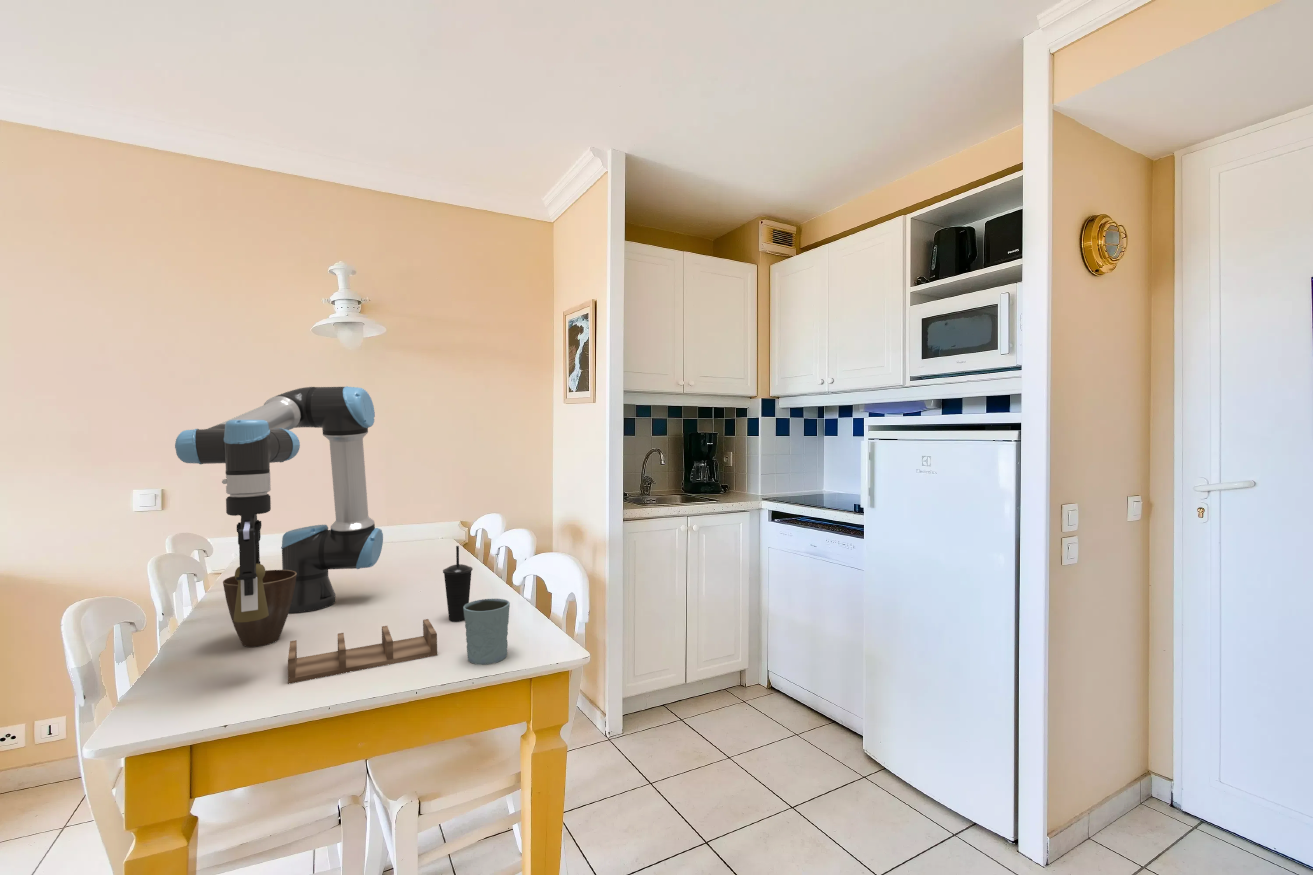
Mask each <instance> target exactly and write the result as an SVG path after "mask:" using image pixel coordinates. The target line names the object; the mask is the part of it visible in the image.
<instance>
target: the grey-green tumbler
mask: <svg viewBox="0 0 1313 875" xmlns="http://www.w3.org/2000/svg"><path fill="white" fill-rule="evenodd" d="M510 604H511V602H510V601H509V600H507V599H503V598H483V599H477V600H473V601H469V603H467V604H466V605H464V607H463V609H464V618H465V620H464V623H465V624H464V627H465V637H466V639H465V640H466V641H465V642H466V654H467V661H468V662H469V663H471V664H474V665H480V666H481V665H482V666H484V665H491V664H496V663H499V662H502V661H503V660H505V659H506V658H507V655H508V647H509V646H508V642H509V641H508V635H509V633H508V631H509V628H508V626H509V619H510Z"/></svg>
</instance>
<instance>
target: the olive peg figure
mask: <svg viewBox="0 0 1313 875" xmlns="http://www.w3.org/2000/svg"><path fill="white" fill-rule="evenodd" d="M265 571H266V568H265V566H264V564H261V563H260V564H256V574H257V576H256V577H257V588H258V610H252V611H245V612H241V580H237V581H238V589H237V597H236V604H235V612H234V619H233V621H234V622H250V621H256V620H260V619H263V618H265V617H267V616H269V613H268V607H267V602H266V596H265V591H264V586H263V580H262V579H263V577H264V576H265ZM249 572H250V571H249ZM239 574H240V566H238V567H236V569H235V571H234V576H235V579H236V577H239Z"/></svg>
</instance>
